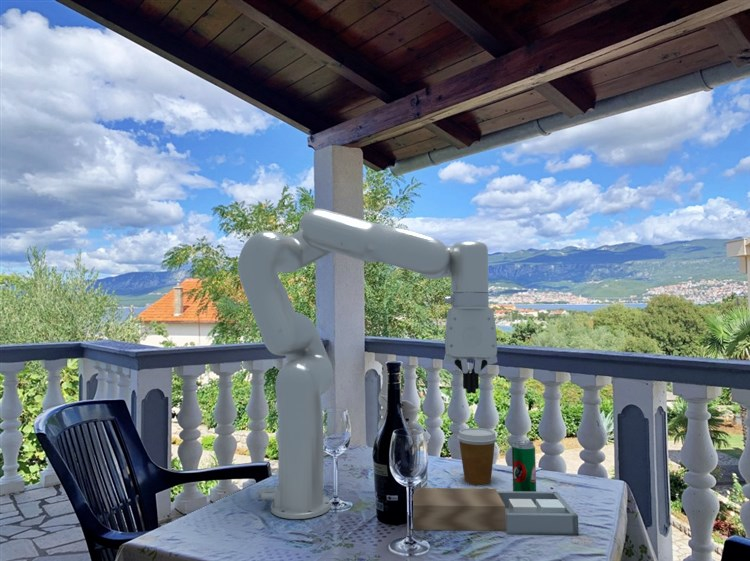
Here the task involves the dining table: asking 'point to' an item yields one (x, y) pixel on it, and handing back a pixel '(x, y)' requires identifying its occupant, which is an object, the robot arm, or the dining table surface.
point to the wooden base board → (458, 509)
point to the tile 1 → (522, 506)
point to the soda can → (523, 466)
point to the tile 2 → (549, 506)
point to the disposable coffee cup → (477, 454)
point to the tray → (539, 516)
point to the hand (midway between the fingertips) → (470, 392)
